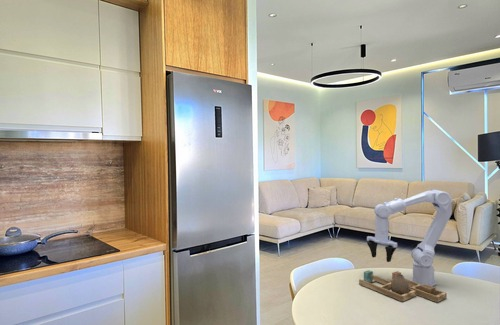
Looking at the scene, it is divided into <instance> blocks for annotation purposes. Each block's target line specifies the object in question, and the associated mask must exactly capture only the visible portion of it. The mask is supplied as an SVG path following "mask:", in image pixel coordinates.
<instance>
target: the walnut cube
mask: <svg viewBox="0 0 500 325" xmlns="http://www.w3.org/2000/svg"><path fill="white" fill-rule="evenodd" d="M436 290H437V289H436V286H430V285H427V284H425V285H422V286H421V291H424V292H427V293H430V294H433V295H435V294H436ZM435 296H436V295H435Z"/></svg>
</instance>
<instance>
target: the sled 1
mask: <svg viewBox="0 0 500 325" xmlns="http://www.w3.org/2000/svg"><path fill="white" fill-rule="evenodd" d="M375 282H377V283H378V284H381V285H378V284H374V283H375ZM358 284H359V285H361V286H363V287H365V288H367V289H371V290H373V291H375V292H378V293H380V294H382V295H385V296H387V297H390V298H392V299H395V300H398V301H400V302H405V301H408V300H409V299H411V298H414V297H416V296H418V295H417V291H416V290H413V289H410V288H409V292H408V293H405V294H403V295H400V294H397V293H395V292H392V291H391V281H390V280H389V279H385V278H382V277H380V276H377V275H374V271H373V270H370V269H368V270H365V271H363V279H362V278H359V279H358Z"/></svg>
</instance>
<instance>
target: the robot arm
mask: <svg viewBox="0 0 500 325" xmlns="http://www.w3.org/2000/svg"><path fill="white" fill-rule="evenodd" d="M425 202H426V203H431V204H432V205H433V207H434V209H435V210H436V214H435V215H434V218H433V220H432V221H431V223H430V225H429V227H428V229H427V231H426V233H425V235H424V237H423V239H422V241H421V242H420V243H417V246H416V247H415V248H413V249H412V251H411V258H412V259H413V261H412V280H411V281H413V282H416V283H419V284H422V285H425V284H427V285H430V286H433V287H435V286H436V285H437V283H436V282H435V267H434V266H433V264H434V257H435V247H436V246H437V243H438V242H439V240H440V238H441V235H443V234H442V233H443V232H444V230H445V228H446V226H447V224H448V222H449V220H450V218H451V216H452V215H453V210H452V209H453V208H452V202H453V198H452V197H451V195H450V193H448V192H447V191H444V190H438V189H436V188H435V189H430V190H426V191H422V192H421V193H417V194H415V195H413V196H412V195H411V196H410V197H407V198H405V199H403V198H400V197H399V198H397V197H395V198H393V200H391V201H384V202H383V203H379V204H377V205H376V206H374V209H373V212H374V214H375V221H374V228H375V229H374V236H371V235H370V236H369V235H368V236H366V241H368V242H367V246H368V247H369V250H370V254H371V257H372V258H376V257H377V248H378V245H379V244H380V245H385V247H384V248H385V253H386V256H385V257H386V258H385V259H386V263H391V261H392V258H393V254H394V253H395V251H396V249H397V248H398V242H395V241H393V240H391V239H389V222H390V221H389V217H390V216H391V215H394V214H397V213H400V212H402V211H405V210H406V209H407V207H410V206H412V205H417V204H420V203H425Z"/></svg>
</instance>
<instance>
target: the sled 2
mask: <svg viewBox="0 0 500 325" xmlns="http://www.w3.org/2000/svg"><path fill="white" fill-rule="evenodd" d="M391 274H392V275H391V279H390V280H389V281H391V282H392V280H393V279H394V278H395V277H396V275H397V274H402V272H400V271H397V270H396V271H393V272H392V273H391ZM405 280H406V281H407V282H408V285H409V288H410V289H413V290H416V291H417V295H416V296H420V297H422V298H424V299H427V300H430V301H433V302H435V303H439V302H441V301H443V300H445V299H447V292H444V291H442V290H439V289H436V294H435V295H433V294H430V293H427V292H424V291H421V286H422V284H419V283H416V282H413V281H412V280H409V279H406V278H405Z"/></svg>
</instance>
